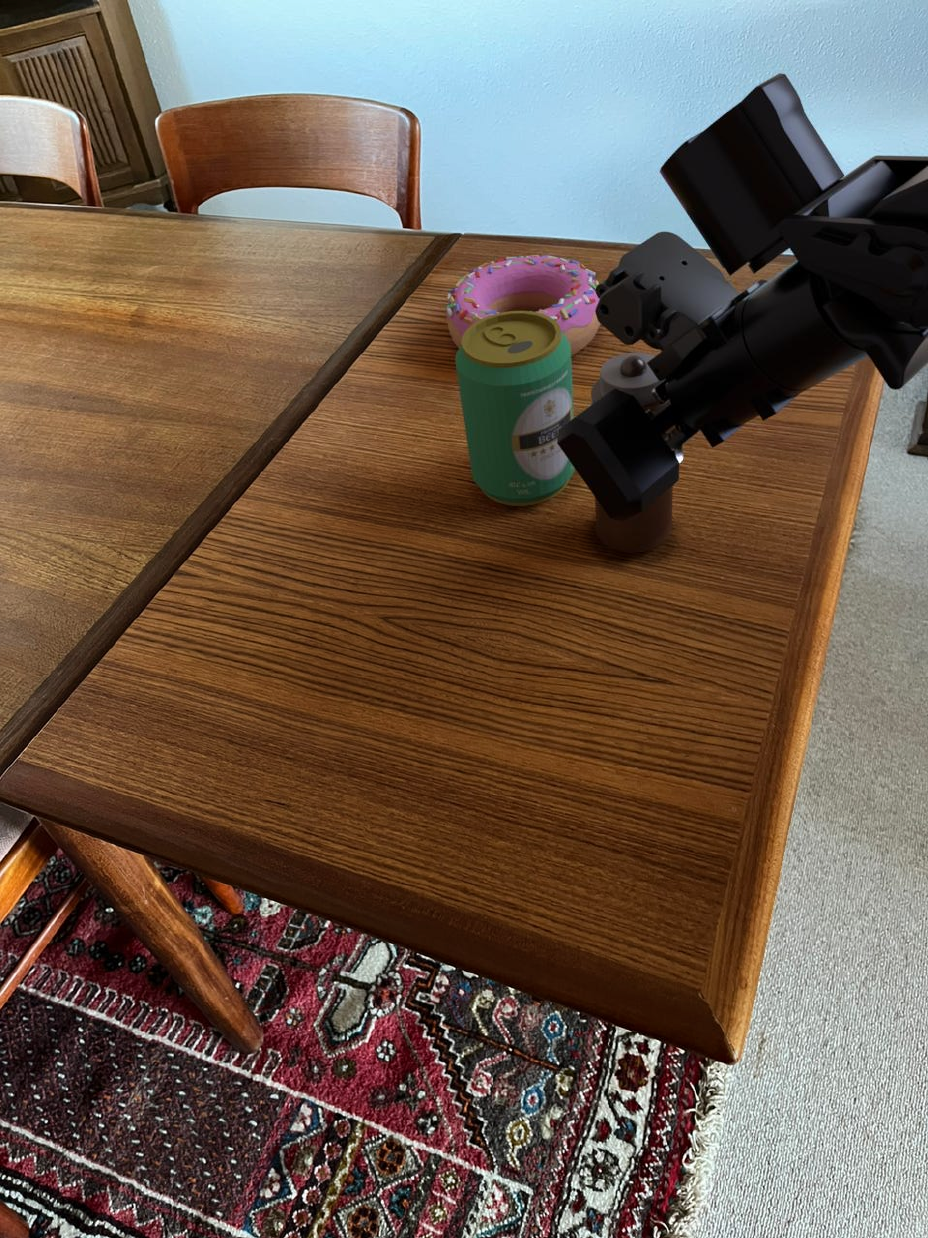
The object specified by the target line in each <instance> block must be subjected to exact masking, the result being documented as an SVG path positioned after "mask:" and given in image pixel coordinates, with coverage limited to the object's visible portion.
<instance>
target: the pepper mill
mask: <svg viewBox="0 0 928 1238" xmlns="http://www.w3.org/2000/svg"><path fill="white" fill-rule="evenodd" d="M655 356H656V355H653V354H650V353H645V352H627V353H622V354H619V355H616V356H613V357H611V358H609V359H608V360H607V361H605V362H604V363H603V364H602V366H601V367H600V370H599V378H598V379H597V380H596V381H595V382H594V383H593V385H592V386H591V390H590V403H591V404H590V406H591V405H592V404H593V403H595V402H596V401H598V400H599V399H600V398H602V397H603V396H604V395H606V394H607V393H608V392H610V391H611V390H613V389H614V388H618V389H619V390H621V391H624V392H626V393H629V394H632V395H634V397H635V398H636V399H637V401H638V402H639V404H640V405H641V407H642V408H643V410H644V411H645V412H646V411H648V410H649V409H650V410H651V412H652V413H653V415H654V416H655V415H656V414H657V413H659V412H660V411H661V410H663V409H664V408H665V407H666V406H668V405H669V404H670V401H669V400H667V401H666V402H665V403H664V404H662V405H661V404H659V403H658V402H657V401H656V399H655V398H654V396H653V395H652V390H653V389H654V388H655V387H656V386H658V385H659V384H660V383H661V382H663V381H664V380H665V379H664V380H662V381H659V380H658V379H657V377H656V376H655V375H654V373H653V372H652V370H651V369H650V367H649V366H648V364H647V362H648V361H650V360H651V359H652V358H654V357H655ZM673 429H675V425H674V426H672V427H671V428H670V429H669V430H667V431H666V434H668V433H670V432H671V431H672V430H673ZM668 439H669V438H667V439H665V441H666V440H668ZM673 492H674V485H673V486H672V487H670V488H669V489H668V490H667V491H666V492H665V493H663V494H662V495H661V496H660V497H659V498H658V499H656V500H655V501H654V502H653V503H652V504H650V505H649V506H648V507H647V508H646V509H645V510H643V511H642V512H641V513H639V514H637V515H635V516H632V517H630V518H628V519H626V520H624V521H619V520H614V519H610V517H609V516H608V515H607V513H606V512H605V510H604V509H603V507H602V506H601V505H600V503H599V502H598V500H597V499H596V498H595V497H594V509H595V512H594V513H595V532H596V535H597V537H598V538H599V540H600V541H601V542H602V543H603V544H604V545H606V546H607V547H609V548H610V549H613V550H616V551H617V552H618V551H619V552H624V553H642V552H648V551H650V550H654V549H655V548H657V547H660V546H661V545H662V544H663V543H665V542H666V541H667V540H668V538H669V536H670V534H671V532H672V523H673V521H672V519H673V499H674V498H673V497H674V496H673V495H674V493H673Z"/></svg>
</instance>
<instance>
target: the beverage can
mask: <svg viewBox="0 0 928 1238" xmlns="http://www.w3.org/2000/svg"><path fill="white" fill-rule="evenodd" d="M461 341H462V344H461V346H460V348H458V350H457V352H456V354H455V358H454V360H455V361H454V362H455V368H456V376H457V380H458V381H457V382H458V389H459V397H460V403H461V410H462V416H463V417H462V418H463V423H464V431H465V437H466V445H467V451H468V458H469V463H470V464H469V465H470V473H471V476H472V479H473V481H474V482H475V484H476V485H477V486H478V487H479V488H480V490H481V491H482V492H483V494H484V495H485V496H486V497H487V498H489V499H490V500H492V501H494V502H496V503H499V504H502V505H507V506H515V507H526V506H527V507H528V506H533V505H537V504H541V503H544V502H547V501H549V500H551V499H554V498H555V497H556V496H558V495H559V494H560V493H561V492H563V491H564V490H565V488H566V487H567V485H568V484H569V482H570V479H571V477H572V476H573V474H574V473H575V471H576V469H575V468H574V466H573V465H572V464H571V462H570V461H569V459H568V458H567V456H566V455H565V454H564V452H563V451H562V449H561V448H560V447H559V445H558V444H557V437H558V429H560V428H561V427H562V426H564V425H565V424H566V423H568V422H569V421H570V420H572V419H573V418H575V412H574V411H575V410H574V389H573V367H572V365H573V363H572V356H571V347H570V343H569V341H568V340H567V338H566V337H565V336H564V334H563V333H562V332H561V328H560V326H559V324H558V323H557V322H556V321H555V320H554V319H552V318H551V317H549V316H547V315H544V314H541V313H537V311H532V312H531V311H508V312H502V313H497V314H494V315H490V316H488V317H485V318H483V319H481V320H479V321H477V322H475V323H474V324H472V325H471V326H470V327H469V328H468V329H467V330H466V331H465V332H464V334H463V336H462V340H461Z"/></svg>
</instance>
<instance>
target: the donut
mask: <svg viewBox="0 0 928 1238" xmlns="http://www.w3.org/2000/svg"><path fill="white" fill-rule="evenodd" d="M596 274H597V272H595V271H594V270H591V269H589V268H588V269H587V268H586V266H585V265H584V264H582V263H581V262H579V261H577V260H574V259H569V258H563V257H560V258H559V257H557V256H553V255H550V254H547V255H546V254H545V255H539V254H529V255H526V256H524V255H517V256H506V257H504V258H499V259H496V262H494V261H493V260H492V261H490V262H489V261H487V262H485V263H482V264H480V265H478V267H475V268H473V269H471V270H470V271H469V272H467V273H466V274H465V275H464V276H461V277H460V279H459V280H458V282H457V283H456V284H454V288H453V289H451V290H449V291H448V293H447V299H446V303H447V305H446V306H445V310H446V314H445V316H446V324H447V328H448V332H449V333H450V334H449V335H450V337H451V338H452V341H453V343H454V344H455V345H456V347H457V348H458V349H459V348H460V346H461V344H462V341H461V340H462V336H463V334H464V332H465V331H466V330H467V329H468V328H469V327H470V326H471V325H472V324H474V323H475V322H477V321H479V320H481V319H483V318H485V317H488V316H490V315H494V314H497V313H502V312H508V311H531V312H537V313H541V314H544V315H547V316H549V317H551V318H552V319H554V320H555V321H556V322H557V323H558V324H559V326H560V328H561V332H562V333H563V334H564V336H565V337H566V338H567V340H568V341H569V343H570V347H571V357H573V356H574V355H576V354H578V353H579V352H581V351H582V350H583V349H584V348H586V346H587V345H589V344H590V342H591V341H592V340H593V339H594V337H595V336H596V334H597V333H598V331H599V329H600V326H601V324H600V323H599V322H598V320H597V316H596V313H595V309H596V307H597V304H598V302H599V298H598V296H597V294H596V287H597V285H599V284H600V282H599V281H598V280H597V279H596V278H595V277H596Z"/></svg>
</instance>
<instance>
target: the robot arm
mask: <svg viewBox="0 0 928 1238" xmlns="http://www.w3.org/2000/svg"><path fill="white" fill-rule="evenodd" d="M659 173H660V175H661V176H662V178H663V179H664V181H665V183H666V184H667V185H668V187H669V188H670V190H671V191H672V193H673V195H674V196H675V198H676V199H677V201H678V202H679V203H680V204H679V205H681V207H682V208H683V210H684V211H685V213H686V215H687V216H688V217H689V219H690V220H691V221H692V223H693V225H694V226H695V228H696V229H697V231H698V232H699V234H700V235H701V237H702V239H703V240H704V242H705V243H706V244H707V246H708V248H709V249H710V250H711V252H712V254H713V255H714V257H715V258H716V260H717V261H718V263H719V264H720V266H721V267H722V269H724V270H725V271H726V273H727V274H728V275H729V276H730V277H731V276H732V275H734V274H735V273H737V272H738V271H739V270H740V269H742V268H743V267H745V266H746V265H747V264H748V265H747V266H748V268H749V269H750V271H751V272H752V274H753V275H755V274H756V273H758V272H759V271H760V270H762V269H763V268H765V267H766V266H767V265H769V264H770V263H772V262H773V261H774V260H775V259H777V258H779V257H780V256H781V255H782V254H784V253H785V252H786V251H788V250H790V251H791V253H792V254H793V256H794V258H795V259H796V261H793V262H792V263H791V264H790V265H788V266H787V267H786V268H784V269H782V270H781V271H780V272H778V274H776V275H775V276H773V277H772V278H770V279H769V280H766V279H760V280H757V281H756V282H754V283H753V284H752V285H750V286H749V287H747V288H746V289H745V290H743V291H741V292H739V291H738V290H737V289H736V288H735V287H734V286H733V285H732V284H731V283H730V282H729V281H728V280H727V279H726V277H725V274H724V273H723V272H722V271H721V269H720V268H719V267H717V266H716V265H715V264H714V263H712V262H711V261H710V260H709V259H708V258H707V257H706V256H704V255H703V254H701V253H700V252H699V251H698V250H696V249H695V248H694V247H693V246H692V245H691V244H690V243H688V242H687V241H685V240H684V239H683V238H682V237H681V236H680V235H678V234H676V233H673V232H670V231H660V232H657V233H655V234H653V235H652V236H650V237H648V238H647V239H645V240H644V241H642V242H641V243H639V244H638V245H637V246H635V247H634V248H631V249H630V250H629V251H627V252H626V253H624V254H623V255H622V256H621V257H620V260H619V262H618V264H617V266H616V267H615V268H613V269H612V270H610V272H609V274H608V276H607V278H606V279H605V280H603V281H602V282H599V285H597V287H596V294H597V296H598V298H599V302H598V304H597V307H596V309H595V313H596V316H597V320H598V322H599V323H600V325H602V326H603V328H605V329H606V330H607V331H609V332H610V333H611V334H612V335H613V336H614V337H615V338H616V339H618V340H619V341H620V342H621V343H622V344H623V345H625V346H633V345H635V344H637V343H638V342H639V341H642V342H643V343H644V344H646V345H647V346H648V347H649V348H652V349H654V350H658V351H660V352H659V353H658V354H657V355H654V356H655V357H654V358H652V359H651V360H650V361H648V362H647V364H648V366H649V367H650V369H651V370H652V372H653V373H654V375H655V376H656V377H657V379H658V380H659V381H662V380H664V379H665V380H664V381H663V382H661V383H660V384H659V385H658V386H656V387H655V388H654V389H653V390H652V395H653V396H654V398H655V399H656V401H657V402H658V403H659V404H661V405H662V404H664V403H665V402H666V401H667V400H669V401H670V404H669V405H668V406H666V407H665V408H664V409H663V410H661V411H660V412H659V413H657V414H656V415H655V416H654V415H653V413H652V412H651V410H650V409H649V410H648V411H646V412H645V411H644V410H643V408H642V407H641V405H640V404H639V402H638V401H637V399H636V398H635V397H634V395H632V394H629V393H626V392H624V391H621V390H619V389H618V388H614V389H613V390H611V391H610V392H608V393H607V394H606V395H604V396H603V397H602V398H600V399H599V400H598V401H596V402H595V403H593V404H592V405H591V404H590V405H589V406H587V408H585V409H583V410H582V411H581V412H580V413H579V414H577V415H576V416H574V418H573V419H572V420H570V421H569V422H568V423H566V424H565V425H564V426H562V427H561V428H560V429H558V437H557V444H558V445H559V447H560V448H561V449H562V451H563V452H564V454H565V455H566V456H567V458H568V459H569V461H570V462H571V464H572V465H573V466H574V468H575V471H576V472H577V474H578V475H579V476H580V478H581V479H582V481H583V482H584V484H585V485H586V486H587V487H588V490H589V491H591V494H592V495H593V496H594V499H595V498H596V499H597V500H598V502H599V503H600V505H601V506H602V507H603V509H604V510H605V512H606V513H607V515H608V516H609V517H610V519H614V520H619V521H624V520H626V519H628V518H630V517H632V516H635V515H637V514H639V513H641V512H642V511H643V510H645V509H646V508H647V507H648V506H649V505H650V504H652V503H653V502H654V501H655V500H656V499H658V498H659V497H660V496H661V495H662V494H663V493H665V492H666V491H667V490H668V489H669V488H670V487H672V486H673V487H674V485H676V484H677V483H678V482H679V481H680V480H679V479H680V464H681V463H682V462H683V460H684V457H685V455H684V454H685V453H684V448H683V447H684V445H685V443H687V442H689V440H692V438H693V437H695V436H696V435H697V434H699V432H701V433H702V435H703V436H704V439H706V441H707V442H708V443H709V445H710V446H711V448H712V449H713V448H716V447H717V446H718V445H720V444H722V443H724V442H726V441H727V440H728V439H729V438H730V437H732V436H733V435H734V434H735V433H736V432H737V431H739V430H740V429H741V428H742V427H743V426H744V425H746V424H747V423H748V422H750V421H753V420H754V419H756V418H758V417H760V418H761V420H762V421H766V420H768V419H769V418H771V417H773V416H775V415H777V414H778V413H779V412H780V411H782V410H783V409H784V408H785V407H786V406H787V405H788V404H790V403H791V402H792V401H793V400H795V399H796V398H797V397H798V396H799V395H800V394H802V393H804V392H806V391H807V390H809V389H811V388H813V387H815V386H817V385H818V384H820V383H822V382H824V381H826V380H828V379H830V378H831V377H833V376H835V375H837V374H839V373H841V372H843V371H844V370H846V369H848V368H850V367H852V366H853V365H855V364H857V363H859V362H861V361H863V360H864V359H867V358H868V357H869V359H870V360H871V362H872V363H873V365H874V367H875V368H876V369H877V371H878V373H879V374H880V376H881V377H882V379H883V381H884V382H885V384H886V386H887V387H888V388H889V389H891V390H895V391H896V390H901V389H902V388H903V387H904V386H905V385H906V384H907V383H909V382H910V381H911V380H912V379H913V378H914V377H915V376H916V375H918V373H919V372H920V371H922V370H923V369H924V368H925V367H926V366H927V365H928V156H926V155H920V156H919V155H878V154H877V155H874V156H872V157H870V158H869V159H867V160H866V161H864V162H863V163H862V164H861V165H859V166H858V167H856V168H854V169H853V170H852V171H850V172H849V173H848V174H846V175H845V174H844V172H843V171H842V169H841V168H840V165H838V162H837V161H836V159H835V158H834V157H833V155H832V153H831V151H830V150H829V149H828V147H827V145H826V144H825V142H824V141H823V140H822V138H821V136H820V134H819V133H818V131H817V129H816V128H815V126H814V125H813V123H812V122H811V121H810V119H809V117H808V115H807V114H806V112H805V109H804V106H803V104H802V100H801V97H800V96H799V94H798V92H797V90H796V89H795V87H794V85H793V84H792V82H791V81H790V79H789V78H788V76H787V75H786V74H785V73H781V72H779V73H777V74H775V75H773V76H772V77H771V78H769V79H767V80H765V81H764V82H762V83H760V84H758V85H756V86H755V87H753V89H752V90H751V91H750V92H749V93H748V94H747V95H746V96H745V97H744V98H743V99H742V100H741V101H739V103H737V104H736V105H734V106H733V107H731V108H730V109H729V110H728V111H727V112H725V113H724V114H722V115H720V116H719V118H717V119H716V120H714V121H713V122H712V123H711V124H710V125H708V127H706V128H705V129H704V130H703V131H700V132H699V133H697V134H695V135H694V136H692V137H690V138H689V139H687V140H686V141H684V142H683V143H682V144H680V146H679V147H678V148H677V149H675V150H674V152H673V153H672V154H671V155H670V156H669V157H668V159H667V160H666V161H664V163H663V164H662V166H661V167H660V169H659ZM674 425H675V429H673V430H672V431H671V432H670V433H668V434H666V431H667V430H669V429H670V428H671V427H672V426H674ZM667 438H669V439H668V440H666V441H665V439H667Z"/></svg>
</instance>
